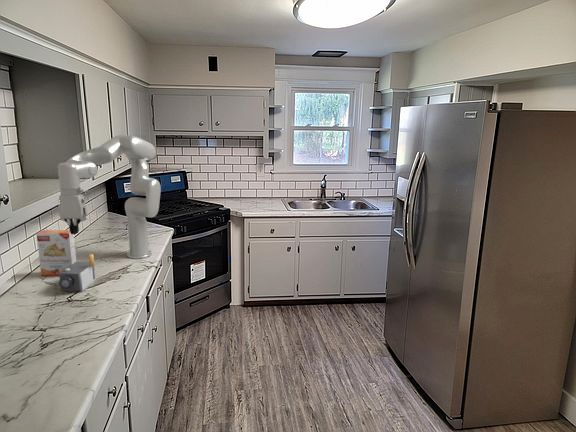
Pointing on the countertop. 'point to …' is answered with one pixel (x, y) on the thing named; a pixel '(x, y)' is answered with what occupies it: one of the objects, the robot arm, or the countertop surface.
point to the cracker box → (55, 251)
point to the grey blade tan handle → (86, 274)
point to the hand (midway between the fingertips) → (74, 233)
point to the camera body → (72, 276)
